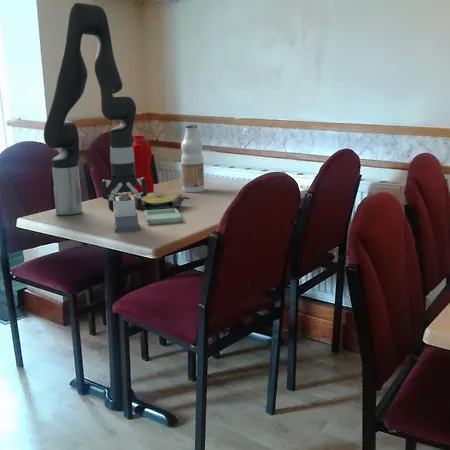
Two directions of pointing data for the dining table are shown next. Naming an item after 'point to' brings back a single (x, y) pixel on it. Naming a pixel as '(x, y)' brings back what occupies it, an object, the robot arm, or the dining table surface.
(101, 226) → the dining table surface
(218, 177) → the dining table surface
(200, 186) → the fruit juice
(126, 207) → the gray open box
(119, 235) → the dining table surface
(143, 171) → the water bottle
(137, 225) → the grey peg stand
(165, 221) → the tray
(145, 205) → the pulley block
